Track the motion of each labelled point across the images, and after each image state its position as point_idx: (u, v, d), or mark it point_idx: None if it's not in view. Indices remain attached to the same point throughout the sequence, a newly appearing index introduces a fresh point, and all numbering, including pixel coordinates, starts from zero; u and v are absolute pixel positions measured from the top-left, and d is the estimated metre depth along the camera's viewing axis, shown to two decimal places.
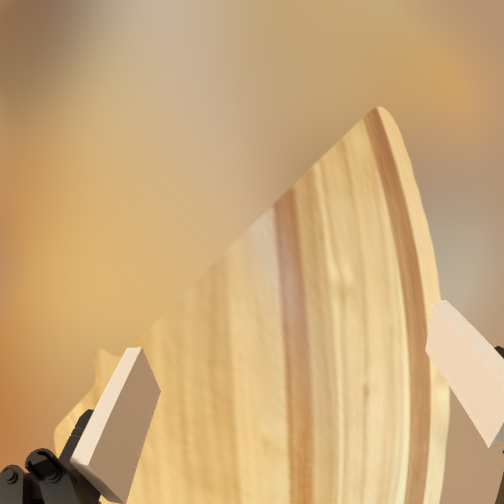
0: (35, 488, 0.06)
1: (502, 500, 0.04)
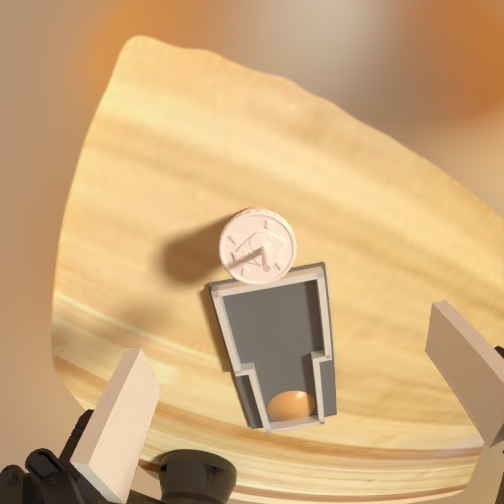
0: (35, 488, 0.06)
1: (502, 500, 0.04)
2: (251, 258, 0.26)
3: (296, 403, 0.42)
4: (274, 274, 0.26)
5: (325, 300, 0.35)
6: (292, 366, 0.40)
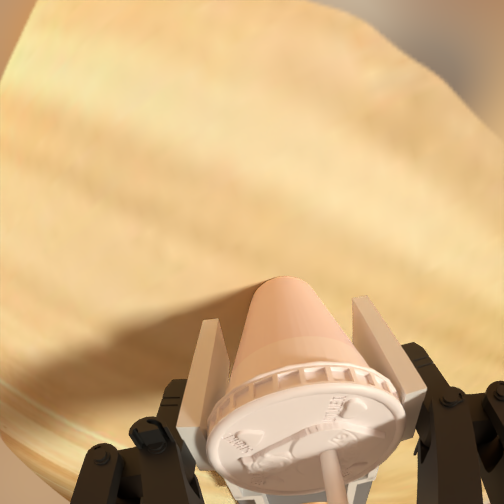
0: (128, 472, 0.07)
1: None
2: (291, 469, 0.08)
3: None
4: None
5: None
6: None
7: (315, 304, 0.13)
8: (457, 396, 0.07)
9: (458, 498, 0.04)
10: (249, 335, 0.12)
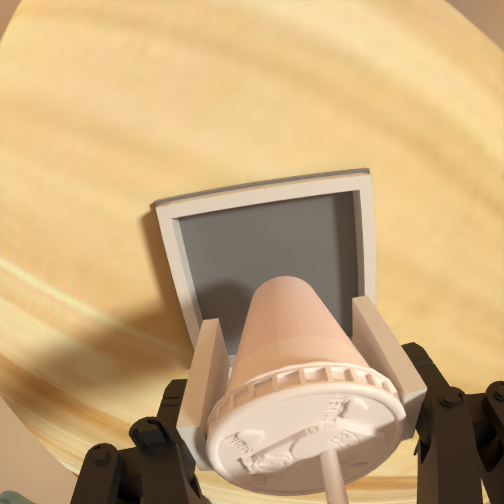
0: (128, 472, 0.07)
1: None
2: (291, 469, 0.08)
3: None
4: None
5: (372, 235, 0.18)
6: None
7: (315, 304, 0.13)
8: (457, 396, 0.07)
9: (458, 498, 0.04)
10: (249, 335, 0.12)
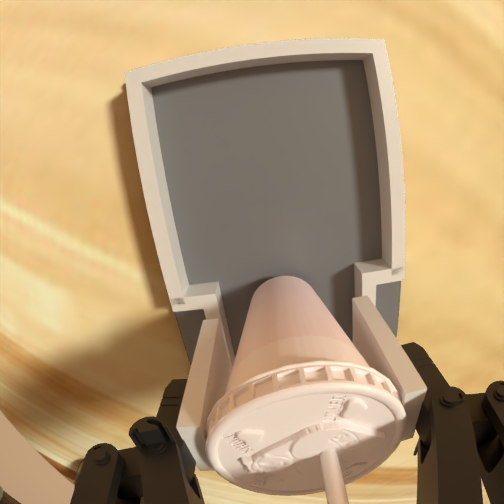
0: (128, 472, 0.07)
1: None
2: (291, 469, 0.08)
3: None
4: None
5: (394, 109, 0.13)
6: None
7: (315, 303, 0.13)
8: (457, 396, 0.07)
9: (458, 498, 0.04)
10: (249, 335, 0.12)
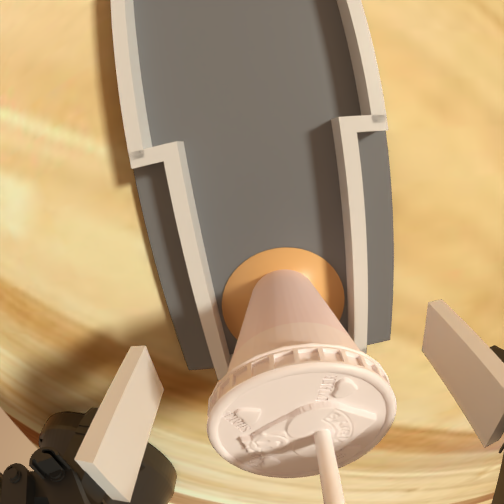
0: (39, 487, 0.06)
1: (498, 500, 0.04)
2: (287, 449, 0.09)
3: None
4: None
5: None
6: (285, 160, 0.16)
7: (312, 295, 0.14)
8: None
9: None
10: (249, 322, 0.13)
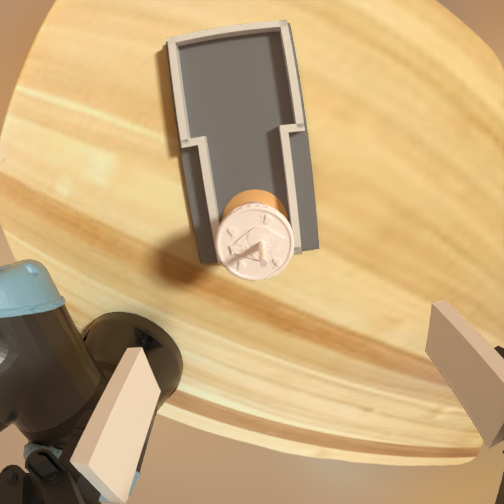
0: (35, 488, 0.06)
1: (502, 500, 0.04)
2: (248, 252, 0.25)
3: None
4: (270, 270, 0.26)
5: (291, 49, 0.27)
6: (255, 146, 0.32)
7: None
8: None
9: None
10: None
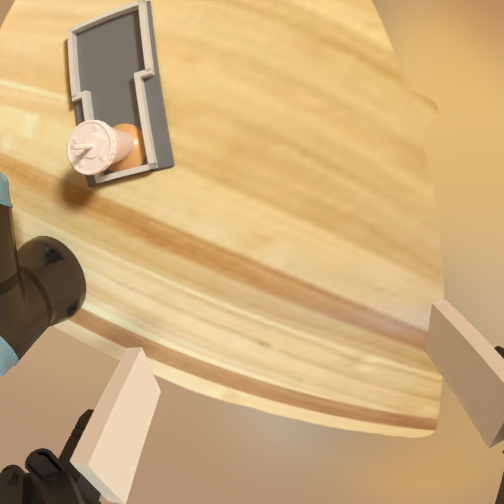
0: (35, 488, 0.06)
1: (502, 500, 0.04)
2: (84, 153, 0.30)
3: None
4: (99, 165, 0.31)
5: (144, 18, 0.32)
6: (121, 92, 0.37)
7: (117, 129, 0.35)
8: None
9: None
10: None
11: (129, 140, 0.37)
